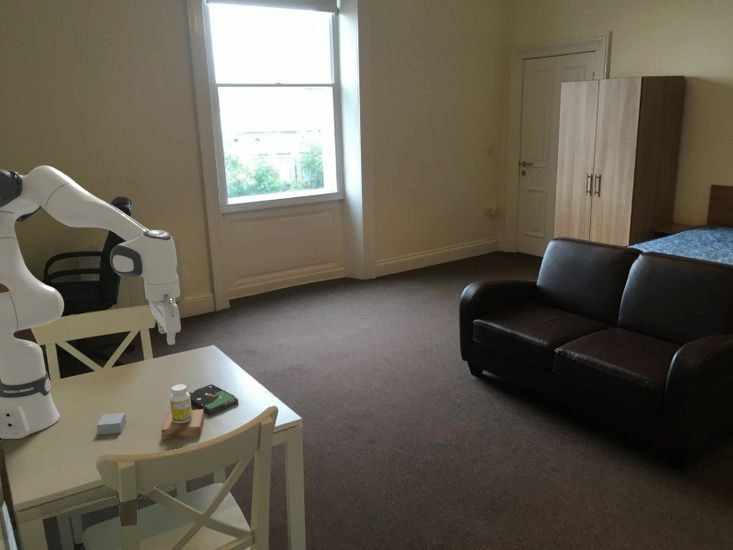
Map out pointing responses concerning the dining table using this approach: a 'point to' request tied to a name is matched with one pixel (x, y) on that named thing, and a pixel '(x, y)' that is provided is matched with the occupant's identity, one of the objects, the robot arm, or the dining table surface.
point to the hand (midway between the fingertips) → (167, 338)
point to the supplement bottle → (180, 404)
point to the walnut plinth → (183, 426)
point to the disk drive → (212, 399)
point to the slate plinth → (111, 423)
